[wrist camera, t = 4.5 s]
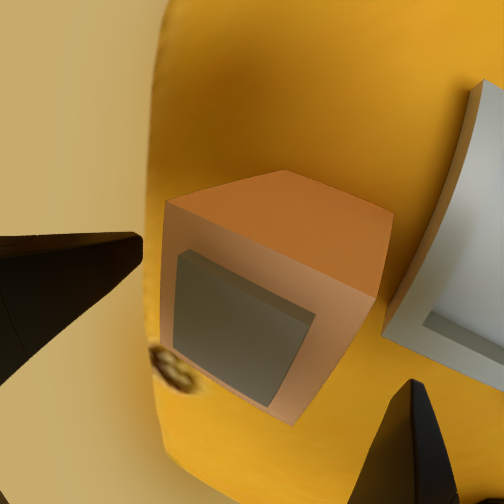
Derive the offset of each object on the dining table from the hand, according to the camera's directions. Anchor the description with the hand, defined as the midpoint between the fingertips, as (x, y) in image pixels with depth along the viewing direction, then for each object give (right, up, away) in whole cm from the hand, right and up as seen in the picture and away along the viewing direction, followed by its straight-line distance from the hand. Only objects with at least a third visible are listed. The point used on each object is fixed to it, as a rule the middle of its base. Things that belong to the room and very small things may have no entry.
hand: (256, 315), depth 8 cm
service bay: (+11, +1, 0) cm, 11 cm away
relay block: (+3, +2, +5) cm, 6 cm away
